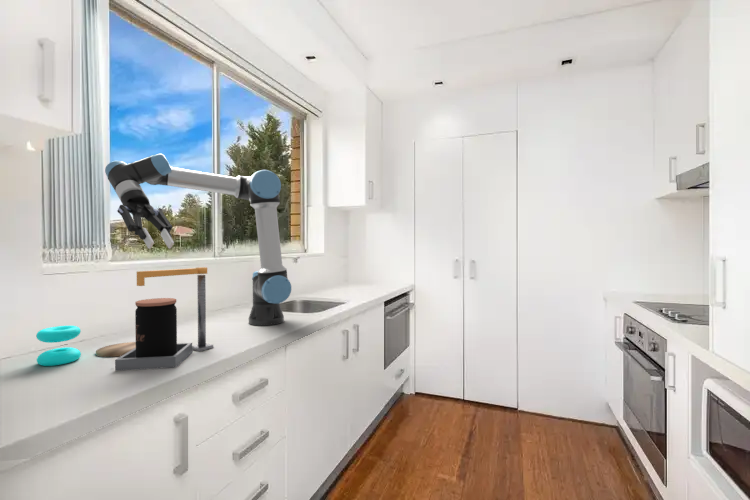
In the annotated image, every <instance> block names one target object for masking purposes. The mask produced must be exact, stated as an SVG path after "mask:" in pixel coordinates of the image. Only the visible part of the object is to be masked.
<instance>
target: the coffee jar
mask: <svg viewBox="0 0 750 500" xmlns="http://www.w3.org/2000/svg"><path fill="white" fill-rule="evenodd" d="M176 303H177V299H176V298H171V297H161V298H158V297H157V298H145V299H141V300H136V301H135V303H134V304H135V307H137V308H136V309H135V311H134V312H135V318H134V321H135V322H134V325H135V342H136V358H142V357H162V356H174V355H175V354H176V353H177V343H178V332H177V331H178V329H177V328H178V325H177V323H178V322H177V319H178V313H177V312H178V311H177V306H176V305H175V304H176Z"/></svg>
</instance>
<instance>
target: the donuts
mask: <svg viewBox="0 0 750 500" xmlns="http://www.w3.org/2000/svg"><path fill="white" fill-rule="evenodd" d="M81 332H82V331H81V328H80V326H76V325H58V326H51V327H45V328H43V329H40V330H39V331H37V333H36V339H37V340H38V341H40V342H42V343H48V344H49V343H51V344H52V343H61V342H62V343H63V342H67V341H71V340H73V339H75V338H77V337H78V336H79V335H80V334H81ZM81 356H82V353H81V351H80V350H79V349H78V348H75V347H70V346H69V347H57V348H53V349H49V350H48V349H47V350H45V351H43V352H41V353H40V354H39V355H38V356H37V358H36V363H37V364H38V365H40V366H43V367H52V366H54V367H55V366H61V365H62V366H63V365H66V364H70V363H73V362H75V361H77V360H79V359H80V358H81Z"/></svg>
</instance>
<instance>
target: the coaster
mask: <svg viewBox="0 0 750 500" xmlns="http://www.w3.org/2000/svg"><path fill="white" fill-rule="evenodd" d="M134 348H136V341H129V342H120V343H114V344H110V345H105V346H103V347H99V348H98V349H97V350H96V351H95V355H96V356H97V357H102V358H116V357H117V358H119V357H121V356H122V355H124V354H126V353H127V352H129V351H131V350H132V349H134Z"/></svg>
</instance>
